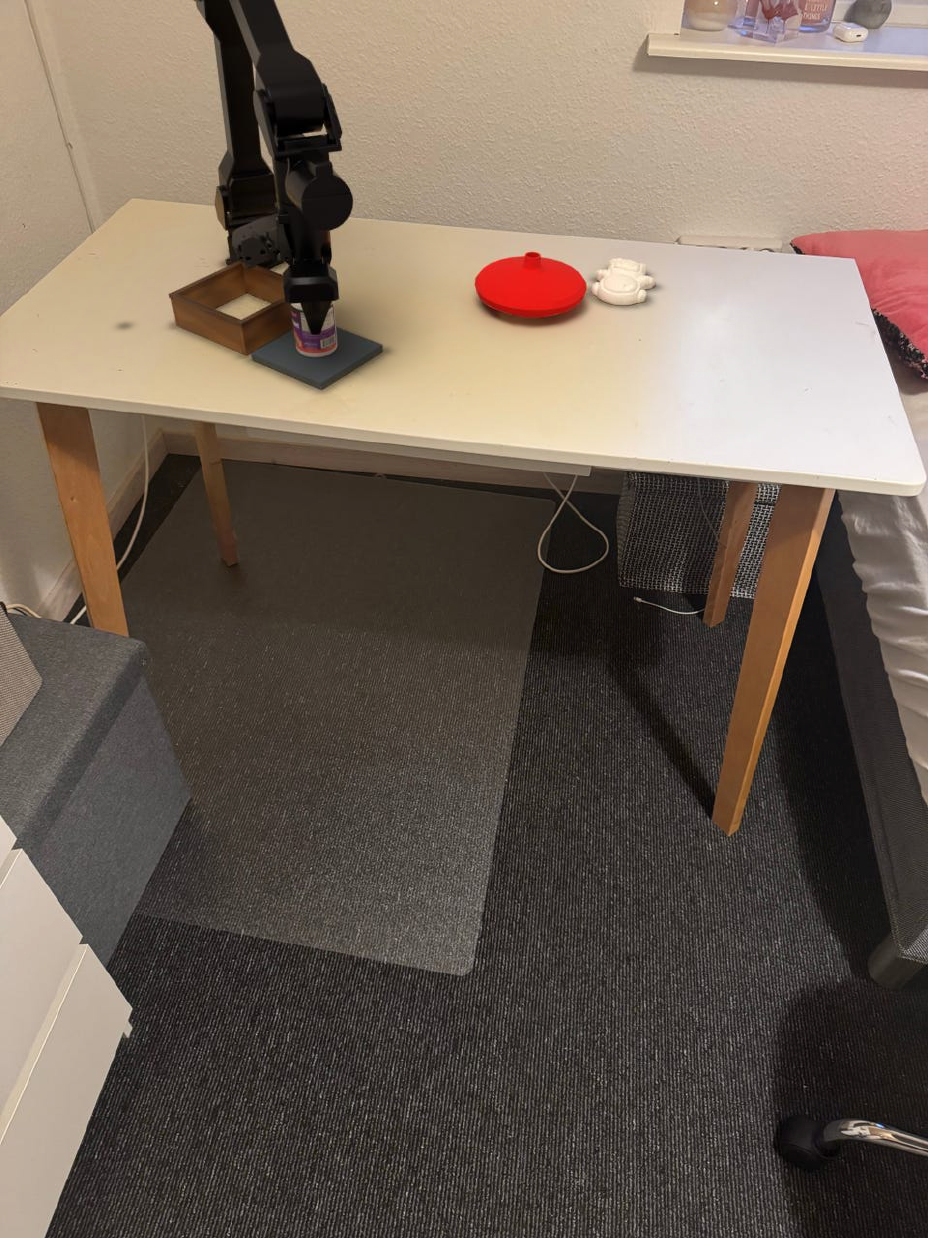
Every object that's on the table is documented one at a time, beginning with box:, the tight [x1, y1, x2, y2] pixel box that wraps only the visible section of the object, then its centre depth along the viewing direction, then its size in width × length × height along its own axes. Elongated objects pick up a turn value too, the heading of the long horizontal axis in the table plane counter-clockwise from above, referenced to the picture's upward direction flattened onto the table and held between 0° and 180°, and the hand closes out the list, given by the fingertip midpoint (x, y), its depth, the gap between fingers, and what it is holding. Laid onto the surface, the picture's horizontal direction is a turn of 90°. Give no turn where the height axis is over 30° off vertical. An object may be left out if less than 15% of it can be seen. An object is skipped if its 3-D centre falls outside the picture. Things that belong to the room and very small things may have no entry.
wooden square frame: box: [168, 261, 293, 356], centre depth 127 cm, size 13×13×4 cm
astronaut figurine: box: [591, 257, 657, 306], centre depth 137 cm, size 9×12×3 cm
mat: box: [250, 326, 384, 391], centre depth 122 cm, size 12×12×1 cm
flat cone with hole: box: [474, 251, 588, 319], centre depth 131 cm, size 16×16×7 cm
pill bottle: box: [291, 301, 337, 357], centre depth 118 cm, size 5×5×10 cm
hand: (314, 322), depth 119 cm, fingers closed on pill bottle, 5 cm apart
